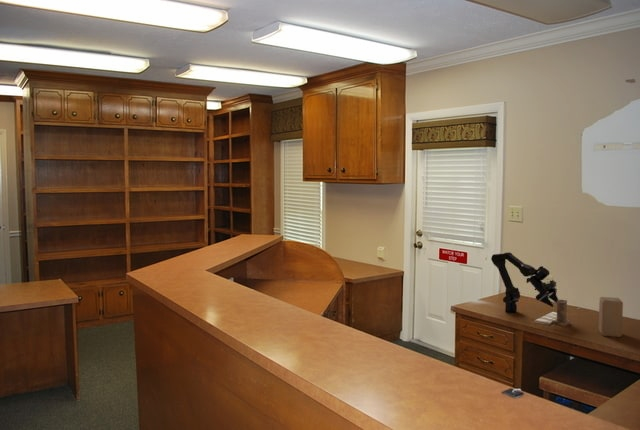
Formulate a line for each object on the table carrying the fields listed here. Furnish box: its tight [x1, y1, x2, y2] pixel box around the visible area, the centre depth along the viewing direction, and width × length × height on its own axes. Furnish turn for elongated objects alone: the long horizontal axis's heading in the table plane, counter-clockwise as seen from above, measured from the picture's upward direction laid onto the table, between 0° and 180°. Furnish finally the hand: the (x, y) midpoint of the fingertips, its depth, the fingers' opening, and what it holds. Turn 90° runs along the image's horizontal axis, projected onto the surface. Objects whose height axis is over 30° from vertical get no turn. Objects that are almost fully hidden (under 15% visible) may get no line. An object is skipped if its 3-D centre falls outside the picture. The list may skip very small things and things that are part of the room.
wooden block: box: [598, 296, 624, 338], centre depth 288 cm, size 10×10×20 cm
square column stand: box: [552, 299, 571, 327], centre depth 309 cm, size 7×7×14 cm
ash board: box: [534, 311, 557, 326], centre depth 319 cm, size 26×8×1 cm, turn 134°
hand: (556, 305), depth 311 cm, fingers open, 9 cm apart
